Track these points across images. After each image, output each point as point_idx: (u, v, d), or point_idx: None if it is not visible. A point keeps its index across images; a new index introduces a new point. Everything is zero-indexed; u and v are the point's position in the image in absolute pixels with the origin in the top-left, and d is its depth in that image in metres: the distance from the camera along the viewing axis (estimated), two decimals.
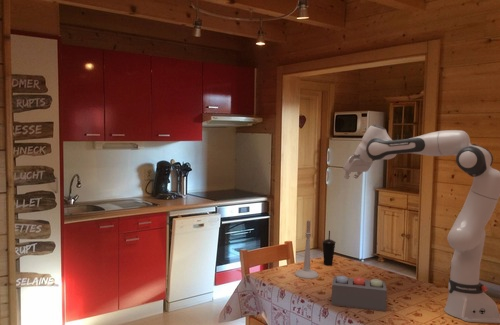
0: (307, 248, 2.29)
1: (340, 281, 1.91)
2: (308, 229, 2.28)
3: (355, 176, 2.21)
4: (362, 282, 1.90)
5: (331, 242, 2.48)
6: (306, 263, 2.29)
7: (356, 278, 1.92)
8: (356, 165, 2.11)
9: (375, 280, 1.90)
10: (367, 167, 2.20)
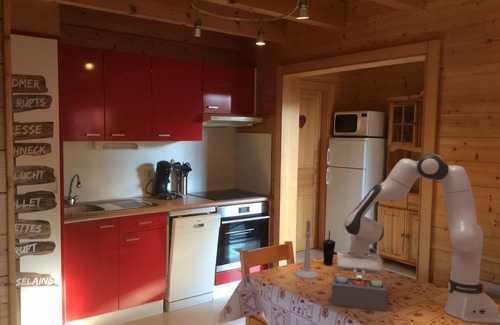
0: (307, 248, 2.29)
1: (340, 281, 1.91)
2: (308, 229, 2.28)
3: None
4: (362, 285, 1.90)
5: (331, 242, 2.48)
6: (306, 263, 2.29)
7: (356, 280, 1.92)
8: (348, 260, 1.97)
9: (375, 280, 1.90)
10: (376, 264, 1.94)
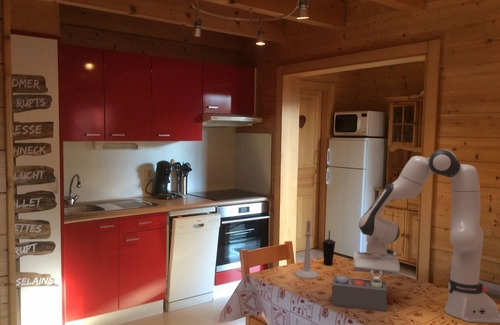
0: (307, 248, 2.29)
1: (340, 281, 1.91)
2: (308, 229, 2.28)
3: None
4: (362, 285, 1.90)
5: (331, 242, 2.48)
6: (306, 263, 2.29)
7: (356, 281, 1.92)
8: (365, 260, 1.95)
9: (375, 282, 1.90)
10: (393, 265, 1.92)
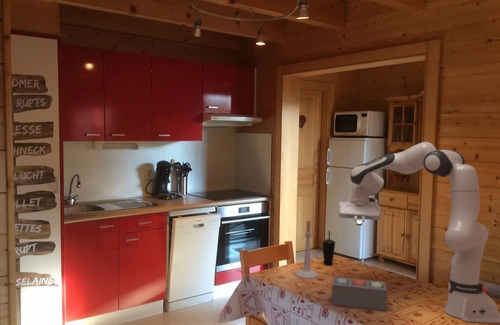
0: (307, 248, 2.29)
1: None
2: (308, 229, 2.28)
3: None
4: (362, 285, 1.90)
5: (331, 242, 2.48)
6: (306, 263, 2.29)
7: (356, 281, 1.92)
8: (350, 208, 2.17)
9: (375, 283, 1.90)
10: (375, 211, 2.13)
